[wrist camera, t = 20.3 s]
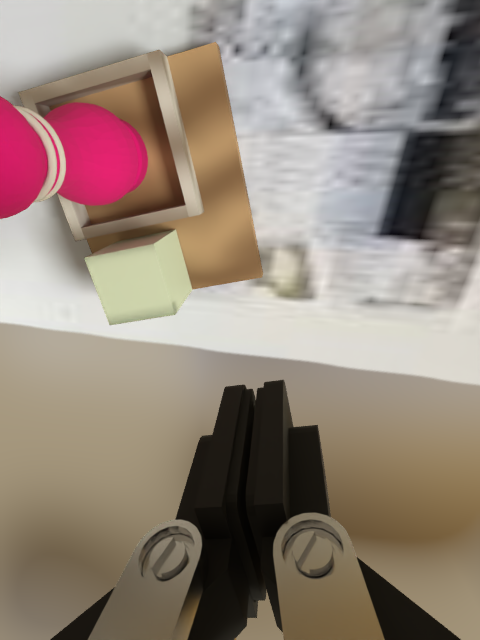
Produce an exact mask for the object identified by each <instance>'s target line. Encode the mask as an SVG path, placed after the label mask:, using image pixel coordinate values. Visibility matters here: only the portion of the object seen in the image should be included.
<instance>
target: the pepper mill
mask: <svg viewBox="0 0 480 640" xmlns="http://www.w3.org/2000/svg"><path fill="white" fill-rule="evenodd" d="M147 167H148V155H147V150H146V147H145V144H144V142H143V140H142V138H141V136H140V134H139V133H138V132H137V130H136V129H135V128H134V127H132V126H131V125H130V124H129V123H128V122H126V121H124V120H122V119H120V118H118V117H116V116H115V115H114V114H113V113H111V112H110V111H108V110H107V109H105V108H103V107H101V106H98V105H95V104H90V103H79V102H74V103H68V104H65V105H62V106H60V107H57V108H55V109H54V110H52V111H50V112H49V113H48V114H47V115H46V116H45V117H44V118H42V117H41V116H40V115H38V114H37V113H35V112H34V111H32V110H30V109H28V108H24V107H21V106H14V105H12V104H11V103H10V102H8V101H7V100H5V99H4V98H2V97H1V96H0V219H2V218H7V217H10V216H13V215H16V214H18V213H19V212H21V211H23V210H25V209H27V208H28V207H29V206H30V205H31V204H32V203H33V202H40V201H43V200H46V199H48V198H50V197H52V196H53V195H54V194H55V193H58V194H59V195H61V196H62V197H64V198H66V199H68V200H70V201H73V202H76V203H79V204H83V205H88V206H96V205H107V204H111V203H113V202H116V201H117V200H119V199H121V198H122V197H123V196H124V195H125V194H127V193H129V192H131V191H133V190H135V189H136V188H137V187H138V186H139V185H140V184H141V183H142V181H143V180H144V177H145V175H146V172H147Z"/></svg>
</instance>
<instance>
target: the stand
mask: <svg viewBox="0 0 480 640" xmlns="http://www.w3.org/2000/svg"><path fill="white" fill-rule="evenodd" d="M18 93H19V95H20V98H21V101H22V103H23V106H24V108H28V109H30V110H32V111H34V112H35V113H37V114H38V115H40V116H41V117H42V118H44V117H45V116H46V115H47V114H48V113H49V112H50V111H52V110H54V109H55V108H57V107H60V106H62V105H65V104H68V103H74V102H79V103H90V104H95V105H98V106H101V107H103V108H105V109H107V110H108V111H110V112H111V113H113V114H114V115H115V116H116V117H118V118H120V119H122V120H124V121H126V122H128V123H129V124H130V125H131V126H132V127H134V128H135V129H136V130H137V132H138V133H139V134H140V136H141V138H142V140H143V142H144V144H145V147H146V150H147V155H148V167H147V172H146V175H145V177H144V180H143V181H142V183H141V184H140V185H139V186H138V187H137V188H136V189H135V190H133V191H131V192H129V193H127V194H125V195H124V196H123V197H122V198H121V199H119V200H117V201H116V202H113V203H111V204H107V205H96V206H88V205H83V204H79V203H76V202H73V201H70V200H68V199H66V198H64V197H62V196H61V195H59V194H58V193H57V195H58V197H59V200H60V203H61V205H62V208H63V210H64V213H65V216H66V218H67V221H68V223H69V226H70V229H71V231H72V234H73V236H74V239H75V241H78V240H83V239H87V241H88V244H89V246H90V249H91V252H92V254H93V253H95V252H97V251H99V250H101V249H103V248H105V247H107V246H109V245H111V244H113V243H115V242H117V241H122V240H127V239H132V238H136V237H141V236H146V235H151V234H156V233H161V232H165V231H170V230H175V229H176V232H177V235H178V239H179V242H180V246H181V250H182V253H183V257H184V261H185V264H186V268H187V272H188V275H189V279H190V282H191V286H192V289H197V288H203V287H209V286H215V285H220V284H226V283H232V282H238V281H243V280H249V279H255V278H261V277H262V275H263V271H262V266H261V260H260V255H259V250H258V245H257V240H256V235H255V230H254V224H253V219H252V214H251V209H250V204H249V199H248V194H247V188H246V183H245V178H244V173H243V168H242V163H241V158H240V152H239V147H238V142H237V137H236V132H235V127H234V122H233V116H232V111H231V106H230V101H229V96H228V91H227V86H226V80H225V75H224V70H223V65H222V60H221V55H220V50H219V46H218V45H217V43H216V42H214V43H211V44H208V45H204V46H201V47H198V48H194V49H191V50H188V51H184V52H181V53H177V54H174V55H171V56H166V55H165V54H164V53H162V52H161V51H160V50H157V51H153V52H150V53H147V54H143V55H140V56H137V57H133V58H130V59H127V60H124V61H120V62H117V63H114V64H110V65H107V66H104V67H101V68H97V69H94V70H91V71H87V72H84V73H81V74H77V75H74V76H71V77H68V78H64V79H61V80H58V81H54V82H51V83H48V84H45V85H41V86H38V87H35V88H31V89H28V90H25V91H21V92H18Z"/></svg>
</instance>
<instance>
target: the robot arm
mask: <svg viewBox="0 0 480 640" xmlns="http://www.w3.org/2000/svg"><path fill="white" fill-rule="evenodd" d="M266 589H267V593H268V596H269V599H270V603H271V606H272V610H273V613H274V617H275V620H276V624H277V626H278V628H279V629H280V630H281V631H282V632H283V637H284V640H460V639H459V638H458V637H457V636H456V635H454V634H453V633H452V632H451V631H449V630H448V629H447V628H445V627H444V626H443V625H442V624H440V623H439V622H438V621H437V620H435V619H434V618H433V617H432V616H430V615H429V614H428V613H427V612H425V611H424V610H423V609H422V608H420V607H419V606H418V605H416V604H415V603H414V602H413V601H411V600H410V599H409V598H408V597H406V596H405V595H404V594H403V593H401V592H400V591H399V590H398V589H396V588H395V587H394V586H393V585H391V584H390V583H389V582H387V581H386V580H385V579H384V578H383V577H381V576H380V575H379V574H377V573H376V572H375V571H374V570H372V569H371V568H370V567H368V566H367V565H366V564H365V563H364V562H362V561H361V560H360V559H359V558H357V557H356V554H355V551H354V548H353V545H352V543H351V540H350V538H349V536H348V534H347V532H346V530H345V529H344V528H343V527H342V526H341V525H340V524H339V523H338V522H337V521H336V520H334V519H332V518H331V514H330V507H329V499H328V492H327V484H326V476H325V469H324V462H323V455H322V449H321V443H320V436H319V431H318V425H313V426H303V427H293V423H292V417H291V412H290V407H289V402H288V397H287V391H286V386H285V382H284V380H279V381H271V382H265V383H264V387H263V388H258V389H257V397H256V400H255V395H254V392H253V389H246V386H245V385H237V386H228V387H225V389H224V392H223V396H222V400H221V404H220V408H219V412H218V416H217V420H216V424H215V428H214V432H213V435H208V436H202V437H201V438H200V440H199V442H198V446H197V449H196V453H195V456H194V459H193V463H192V466H191V469H190V473H189V476H188V479H187V483H186V486H185V489H184V493H183V496H182V499H181V503H180V506H179V509H178V513H177V517H176V520H170V521H167V522H164V523H161V524H159V525H158V526H156V527H154V528H153V529H151V530H150V531H149V532H148V533H147V534H146V535H145V536H144V537H143V538H142V539H141V540H140V542H139V544H138V545H137V546H136V548H135V550H134V552H133V554H132V555H131V557H130V560H129V561H128V563H127V565H126V567H125V569H124V571H123V573H122V575H121V577H120V579H119V581H118V582H117V584H116V586H115V587H114V588H113V589H112V590H111V591H110V592H108V593H107V594H106V595H105V596H104V597H102V598H101V599H100V600H98V601H97V602H96V603H95V604H93V605H92V606H91V607H90V608H89V609H87V610H86V611H85V612H84V613H82V614H81V615H80V616H79V617H78V618H76V619H75V620H74V621H73V622H71V623H70V624H69V625H68V626H67V627H65V628H64V629H63V630H62V631H60V632H59V633H58V634H57V635H55V636H54V637H53V638H52V639H51V640H237V639H236V637H237V636H238V635H239V634H240V633H241V631H242V630H243V629H244V628H245V627H246V626H247V618H257V607H258V600H265V598H266Z"/></svg>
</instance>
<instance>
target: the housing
mask: <svg viewBox="0 0 480 640" xmlns="http://www.w3.org/2000/svg"><path fill="white" fill-rule="evenodd" d="M84 259H85V262H86V264H87V267H88V269H89V272H90V275H91V277H92V280H93V283H94V285H95V288H96V291H97V293H98V296H99V298H100V301H101V304H102V306H103V309H104V312H105V314H106V317H107V319H108V322H109V325H114V324H121V323H127V322H133V321H139V320H145V319H151V318H158V317H164V316H170V315H175V314H176V313H177V311H178V310H179V308H180V307H181V305H182V304H183V303H184V301H185V300H186V298H187V297H188V295H189V294H190V292H191V291H192V286H191V282H190V279H189V275H188V272H187V268H186V264H185V261H184V257H183V253H182V250H181V246H180V242H179V239H178V235H177V232H176V229H175V230H170V231H165V232H161V233H156V234H151V235H146V236H141V237H136V238H132V239H127V240H122V241H117V242H115V243H113V244H111V245H109V246H107V247H105V248H103V249H101V250H99V251H97V252H95V253H93V254H91V255H89V256H87V257H85V258H84Z"/></svg>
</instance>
